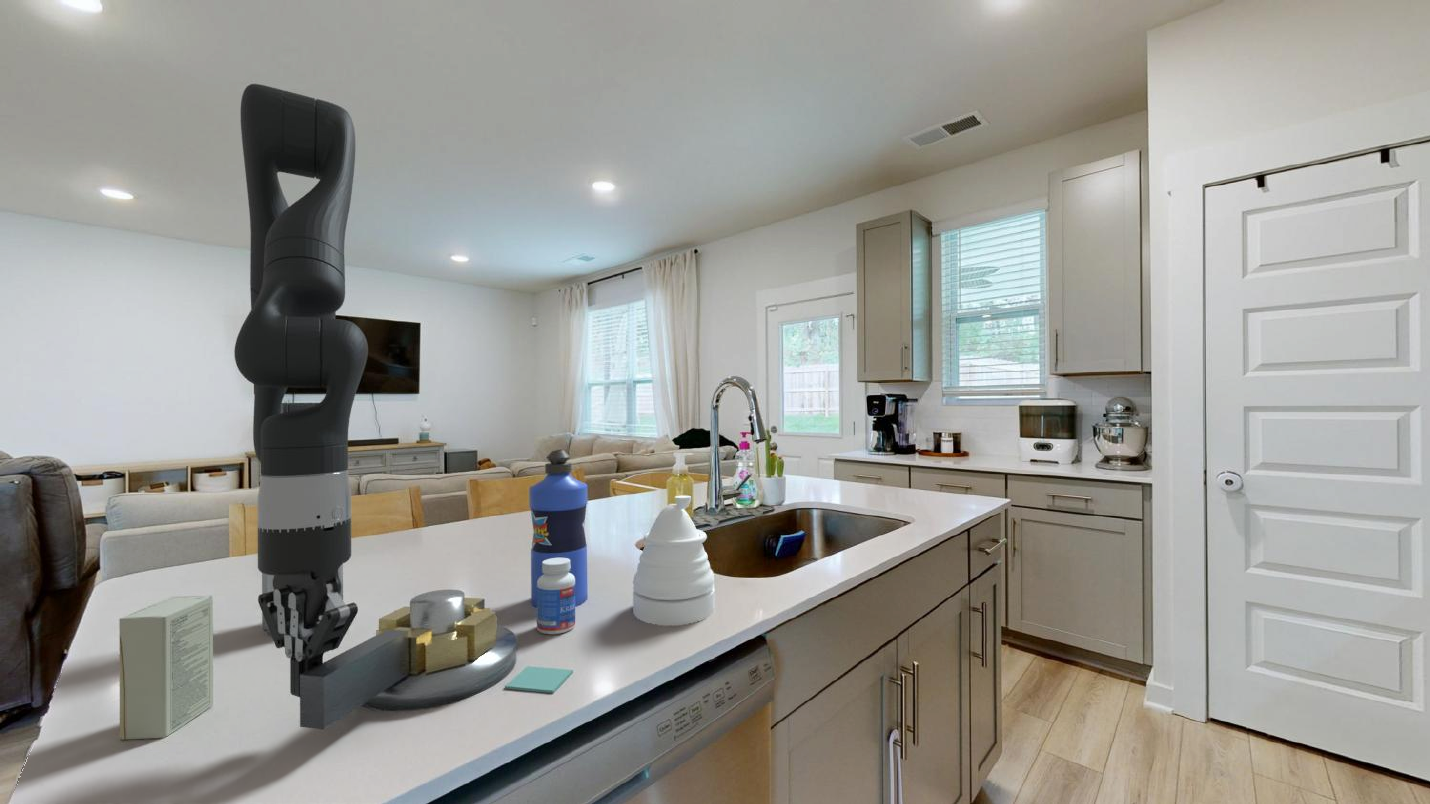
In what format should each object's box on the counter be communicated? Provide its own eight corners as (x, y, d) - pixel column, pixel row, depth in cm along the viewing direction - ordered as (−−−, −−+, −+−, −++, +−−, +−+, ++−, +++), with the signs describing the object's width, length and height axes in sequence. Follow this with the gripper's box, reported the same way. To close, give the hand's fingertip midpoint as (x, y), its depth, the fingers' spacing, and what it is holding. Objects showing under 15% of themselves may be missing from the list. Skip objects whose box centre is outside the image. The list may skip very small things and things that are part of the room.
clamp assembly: (427, 625, 77) (427, 589, 77) (514, 631, 74) (513, 594, 74) (254, 721, 53) (254, 670, 53) (372, 735, 51) (372, 681, 51)
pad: (504, 688, 65) (504, 686, 65) (527, 668, 70) (527, 666, 70) (553, 693, 63) (553, 690, 63) (572, 672, 68) (572, 670, 68)
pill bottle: (565, 637, 79) (564, 567, 79) (529, 634, 80) (529, 565, 80) (581, 622, 84) (581, 556, 85) (548, 619, 86) (548, 555, 86)
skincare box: (172, 708, 61) (171, 595, 61) (216, 706, 62) (215, 594, 62) (116, 742, 55) (115, 617, 55) (165, 739, 55) (164, 615, 56)
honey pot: (730, 604, 91) (728, 493, 91) (683, 632, 80) (682, 505, 80) (666, 591, 98) (665, 487, 98) (615, 615, 87) (614, 498, 87)
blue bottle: (546, 615, 87) (544, 453, 88) (520, 600, 94) (519, 450, 95) (599, 600, 94) (597, 449, 94) (571, 587, 101) (570, 447, 101)
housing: (310, 702, 62) (310, 620, 62) (425, 636, 80) (424, 572, 80) (456, 718, 59) (455, 631, 59) (542, 645, 76) (541, 578, 76)
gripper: (224, 519, 56) (225, 697, 55) (304, 531, 50) (305, 729, 50) (307, 507, 62) (308, 664, 62) (385, 516, 57) (386, 689, 57)
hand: (307, 693), depth 56 cm, fingers closed
